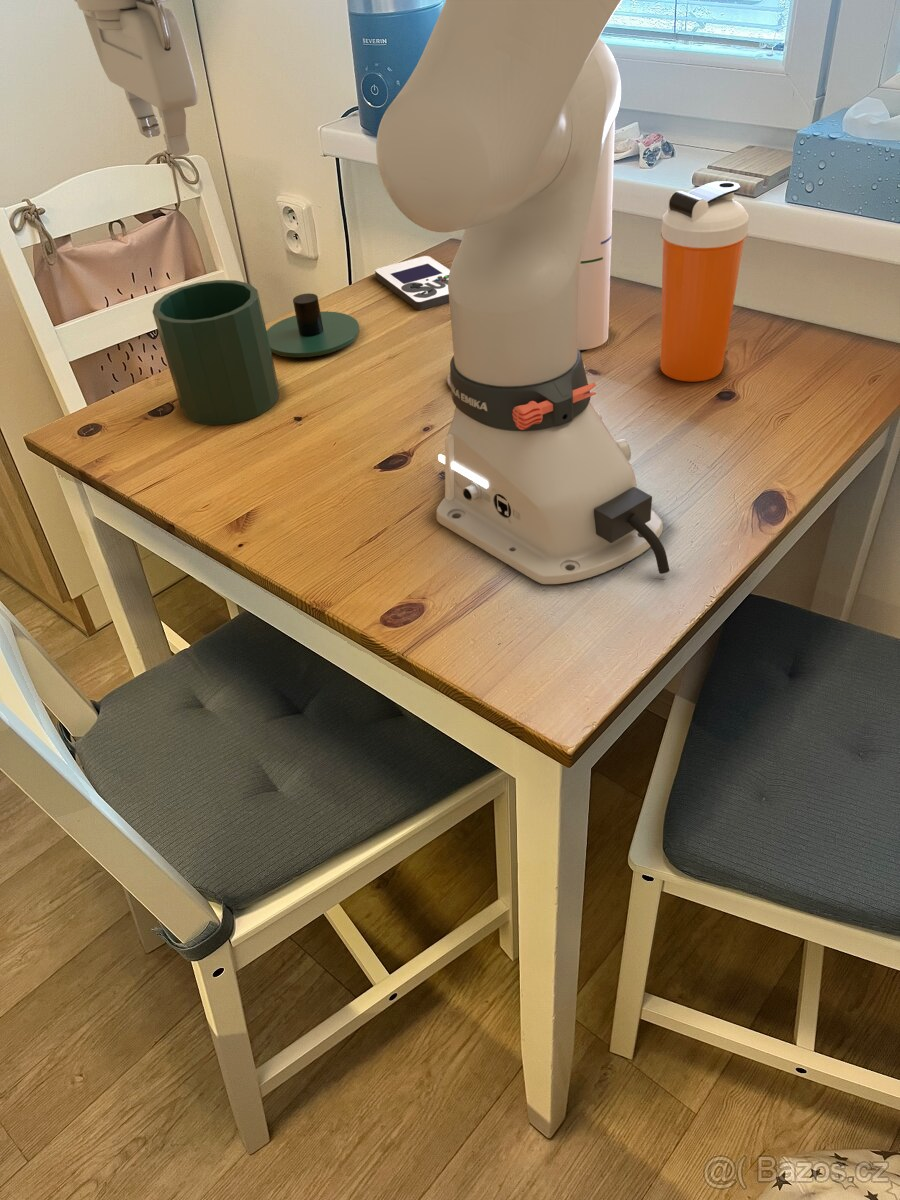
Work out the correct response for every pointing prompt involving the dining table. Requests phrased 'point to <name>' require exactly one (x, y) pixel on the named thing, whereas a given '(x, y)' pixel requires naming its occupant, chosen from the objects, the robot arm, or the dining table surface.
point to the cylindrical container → (597, 257)
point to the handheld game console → (417, 281)
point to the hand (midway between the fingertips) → (164, 144)
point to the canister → (217, 351)
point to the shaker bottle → (699, 278)
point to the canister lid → (311, 330)
